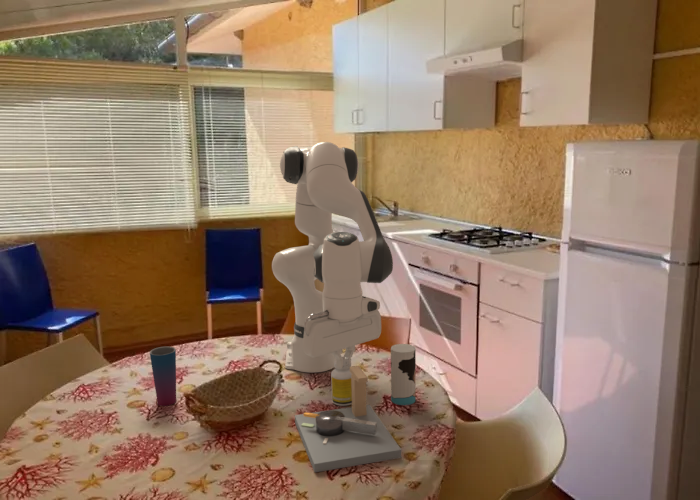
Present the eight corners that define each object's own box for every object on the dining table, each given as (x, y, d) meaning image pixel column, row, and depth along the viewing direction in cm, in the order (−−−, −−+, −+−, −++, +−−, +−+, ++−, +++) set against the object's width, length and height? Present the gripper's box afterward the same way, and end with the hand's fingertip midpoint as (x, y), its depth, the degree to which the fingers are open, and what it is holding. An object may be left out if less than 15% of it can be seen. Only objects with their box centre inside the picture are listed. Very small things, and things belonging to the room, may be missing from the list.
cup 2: (419, 402, 159) (419, 350, 157) (397, 406, 157) (397, 353, 154) (409, 393, 165) (408, 342, 163) (387, 397, 163) (386, 345, 160)
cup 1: (159, 409, 158) (155, 357, 156) (150, 401, 163) (145, 350, 161) (183, 402, 162) (179, 351, 160) (173, 394, 168) (169, 344, 165)
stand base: (294, 422, 149) (292, 373, 147) (369, 411, 155) (368, 364, 152) (314, 472, 127) (312, 415, 124) (401, 457, 132) (401, 403, 129)
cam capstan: (298, 431, 140) (298, 419, 140) (310, 418, 147) (310, 407, 146) (371, 443, 134) (371, 430, 134) (380, 429, 141) (380, 417, 140)
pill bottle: (352, 407, 157) (351, 366, 155) (329, 406, 158) (328, 365, 156) (357, 397, 163) (356, 357, 161) (334, 395, 165) (333, 356, 163)
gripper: (313, 319, 120) (315, 382, 123) (385, 300, 133) (385, 358, 136) (295, 312, 125) (297, 373, 128) (367, 295, 138) (367, 351, 141)
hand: (343, 365), depth 132 cm, fingers closed
